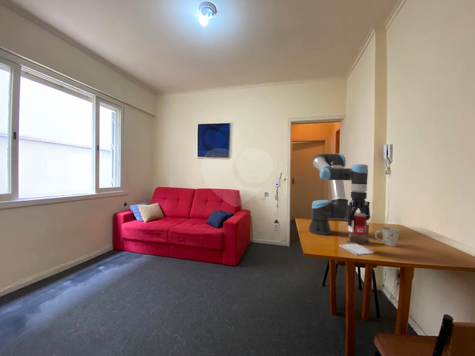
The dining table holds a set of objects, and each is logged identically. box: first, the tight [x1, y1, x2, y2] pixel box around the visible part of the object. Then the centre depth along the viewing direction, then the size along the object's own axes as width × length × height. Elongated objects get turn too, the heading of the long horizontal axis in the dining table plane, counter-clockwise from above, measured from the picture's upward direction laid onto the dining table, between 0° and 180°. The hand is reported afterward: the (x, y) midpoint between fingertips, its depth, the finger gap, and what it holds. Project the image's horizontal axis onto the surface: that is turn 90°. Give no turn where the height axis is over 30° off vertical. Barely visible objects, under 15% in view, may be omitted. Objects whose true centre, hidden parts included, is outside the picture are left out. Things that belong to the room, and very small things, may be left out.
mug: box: [374, 226, 400, 247], centre depth 112 cm, size 8×13×10 cm, turn 78°
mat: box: [338, 243, 375, 256], centre depth 103 cm, size 12×12×1 cm
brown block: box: [345, 224, 372, 244], centre depth 114 cm, size 5×14×11 cm, turn 103°
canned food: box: [350, 211, 366, 235], centre depth 102 cm, size 8×8×11 cm
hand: (357, 231), depth 102 cm, fingers closed on canned food, 8 cm apart
